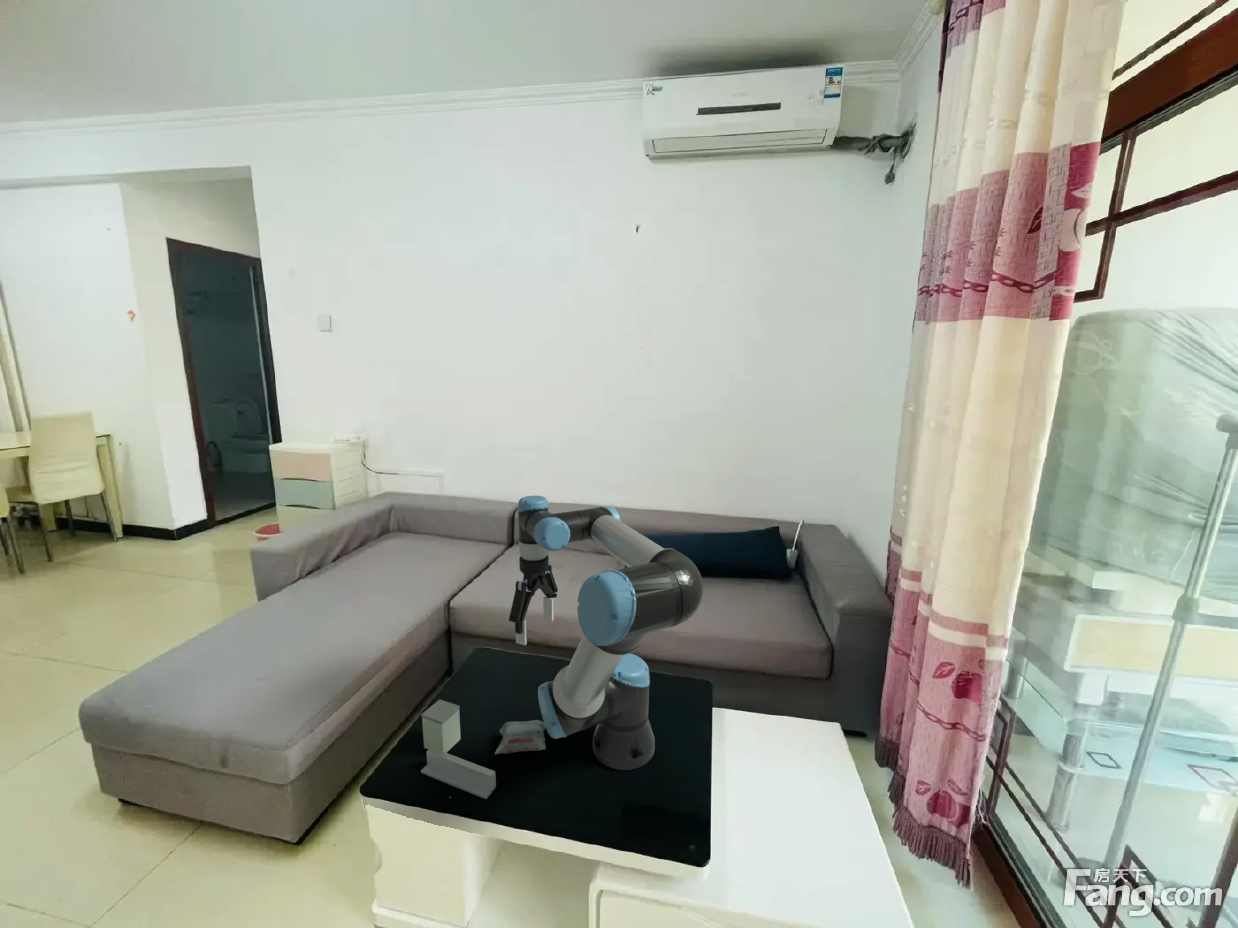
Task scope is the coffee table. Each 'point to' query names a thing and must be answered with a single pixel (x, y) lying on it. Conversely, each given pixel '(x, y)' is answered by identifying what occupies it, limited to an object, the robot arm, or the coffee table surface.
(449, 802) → the coffee table surface
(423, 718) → the tea tin
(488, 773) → the rail
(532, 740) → the packaged food
